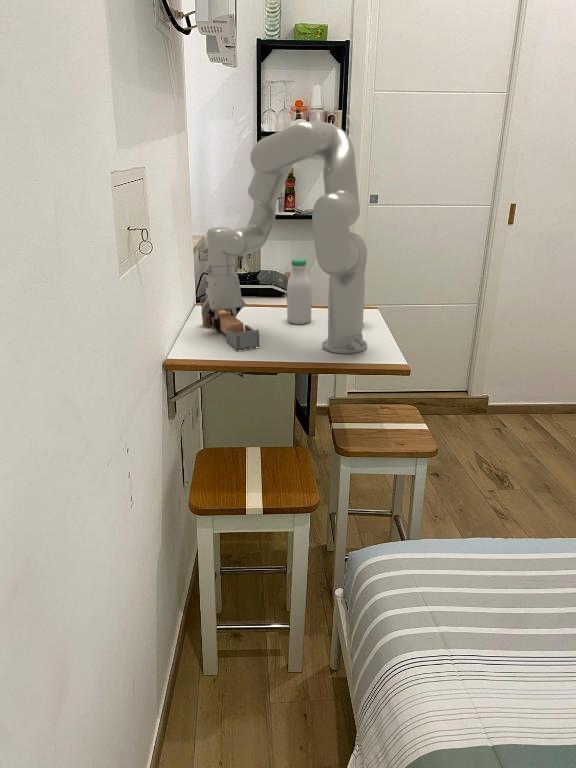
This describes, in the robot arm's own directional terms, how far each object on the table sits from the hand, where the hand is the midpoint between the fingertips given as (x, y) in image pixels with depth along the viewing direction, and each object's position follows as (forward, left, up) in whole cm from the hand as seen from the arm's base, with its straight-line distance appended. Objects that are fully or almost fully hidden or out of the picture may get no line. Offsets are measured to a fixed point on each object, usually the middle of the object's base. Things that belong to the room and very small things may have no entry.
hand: (225, 328), depth 187 cm
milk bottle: (-1, -25, -1) cm, 25 cm away
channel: (-15, 0, -1) cm, 15 cm away
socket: (+8, 0, -1) cm, 8 cm away
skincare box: (-12, -37, -1) cm, 39 cm away
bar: (-1, 0, 0) cm, 1 cm away
